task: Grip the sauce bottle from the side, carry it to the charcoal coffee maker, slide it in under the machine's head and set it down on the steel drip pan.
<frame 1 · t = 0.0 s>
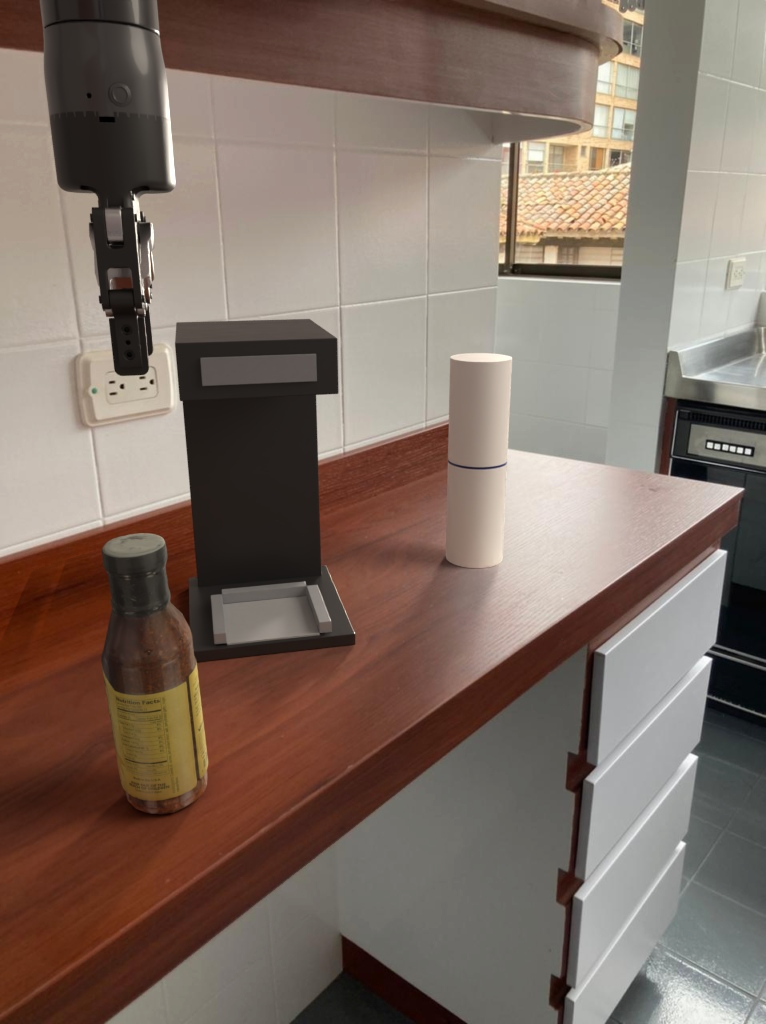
hand: (136, 364, 58), 30 cm above the counter, tool pointing down, fingers open, 8 cm apart
coffee maker: (266, 613, 88), on the counter
cylindrical container: (473, 558, 103), on the counter
sauce bottle: (165, 794, 60), on the counter
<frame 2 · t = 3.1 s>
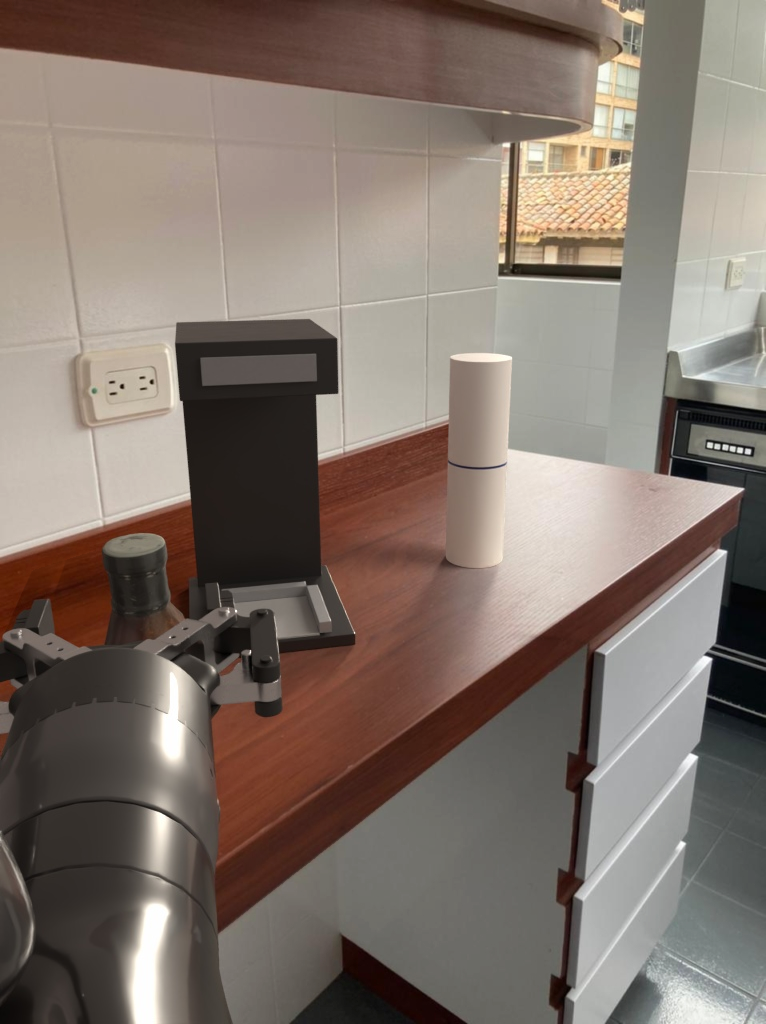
hand: (130, 607, 43), 20 cm above the counter, tool horizontal, fingers open, 8 cm apart
nothing on the counter moved.
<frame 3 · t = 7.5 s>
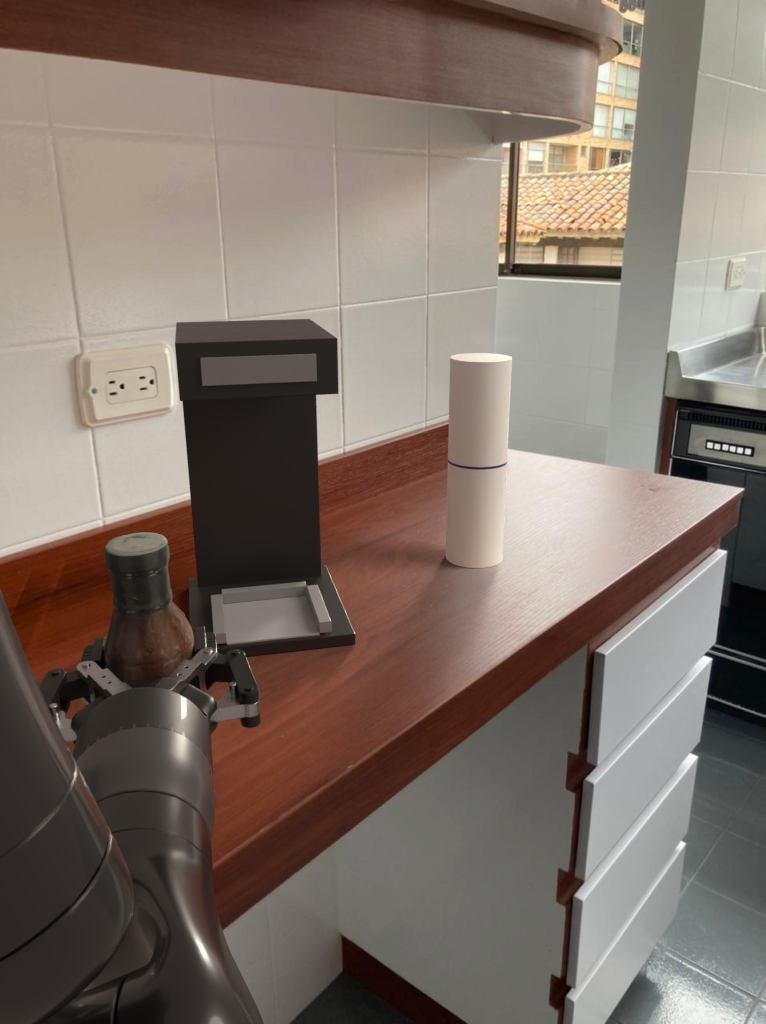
hand: (151, 643, 58), 11 cm above the counter, tool horizontal, fingers closed on sauce bottle, 6 cm apart
sauce bottle: (165, 794, 60), on the counter, touching gripper
everything else where it was.
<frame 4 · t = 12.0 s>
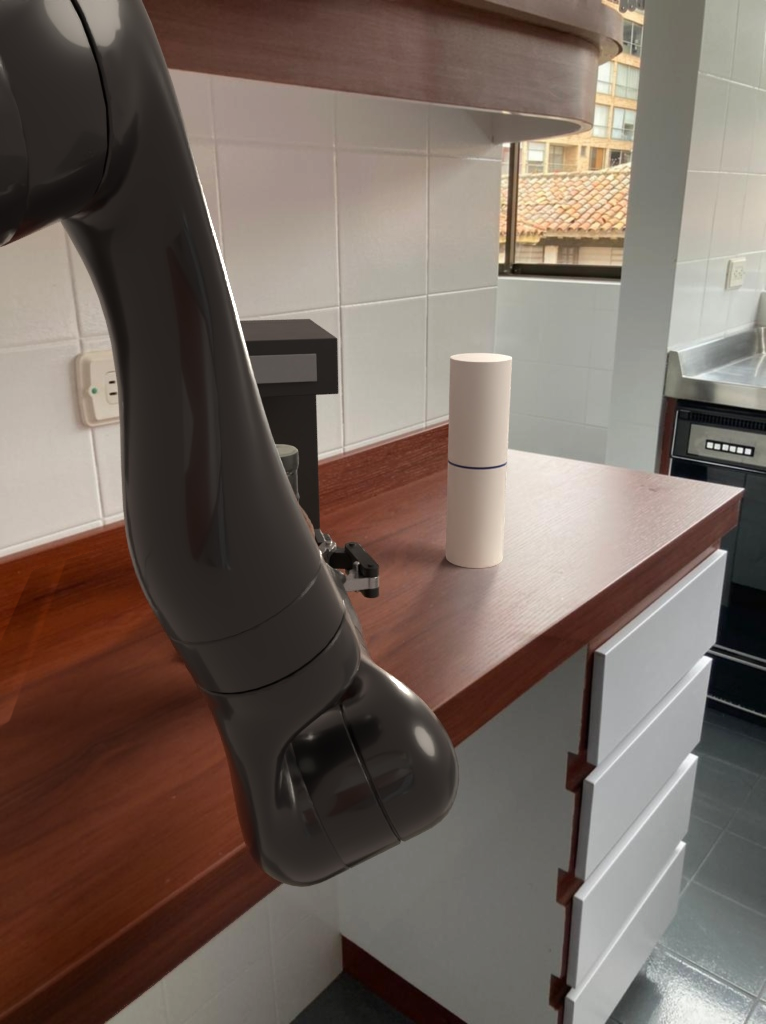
hand: (275, 543, 69), 14 cm above the counter, tool horizontal, fingers closed on sauce bottle, 6 cm apart
sauce bottle: (284, 673, 71), point 3 cm above the counter, touching gripper
everything else where it was.
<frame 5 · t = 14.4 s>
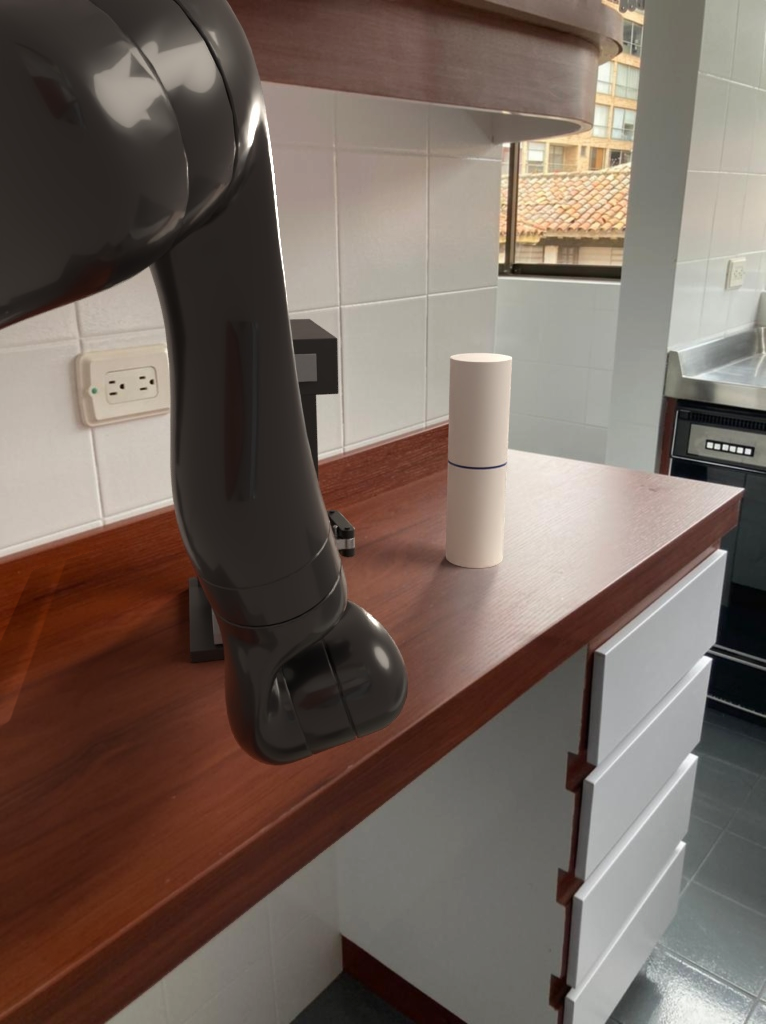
hand: (265, 512, 78), 13 cm above the counter, tool horizontal, fingers closed on sauce bottle, 6 cm apart
sauce bottle: (273, 628, 80), point 2 cm above the counter, touching gripper
everything else where it was.
when the fingers open (12 cm above the counter, at t = 16.3 s): sauce bottle stays where it is, resting on coffee maker.
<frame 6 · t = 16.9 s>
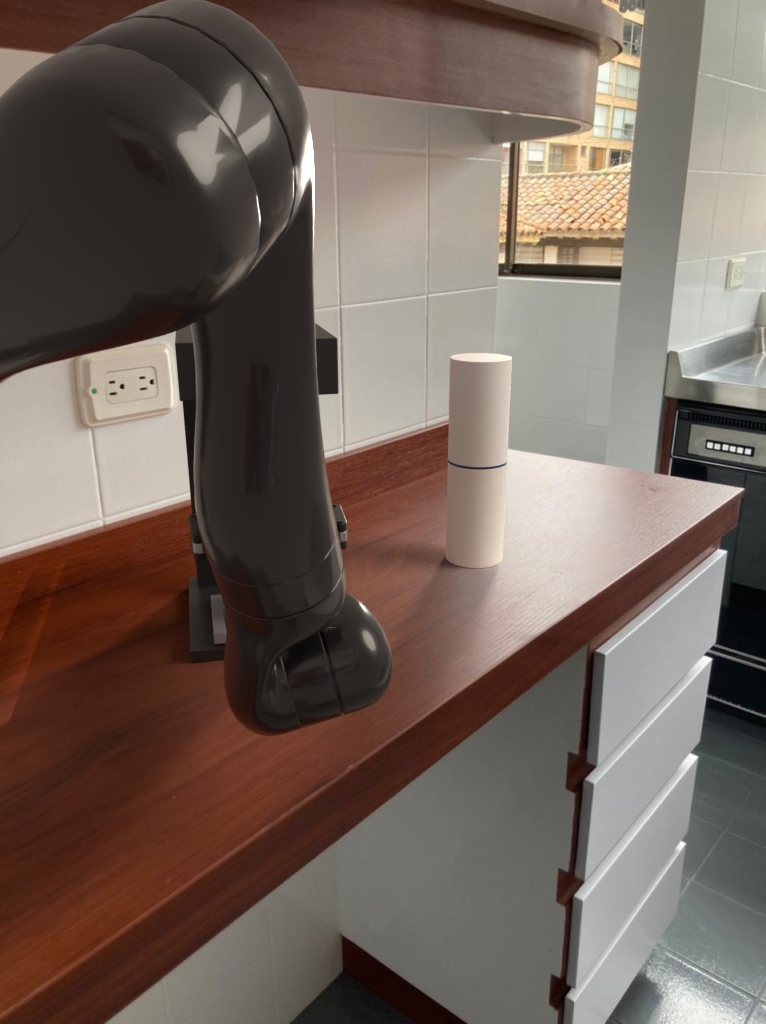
hand: (261, 506, 82), 13 cm above the counter, tool horizontal, fingers open, 8 cm apart
sauce bottle: (270, 620, 84), point 1 cm above the counter, touching coffee maker
everything else where it was.
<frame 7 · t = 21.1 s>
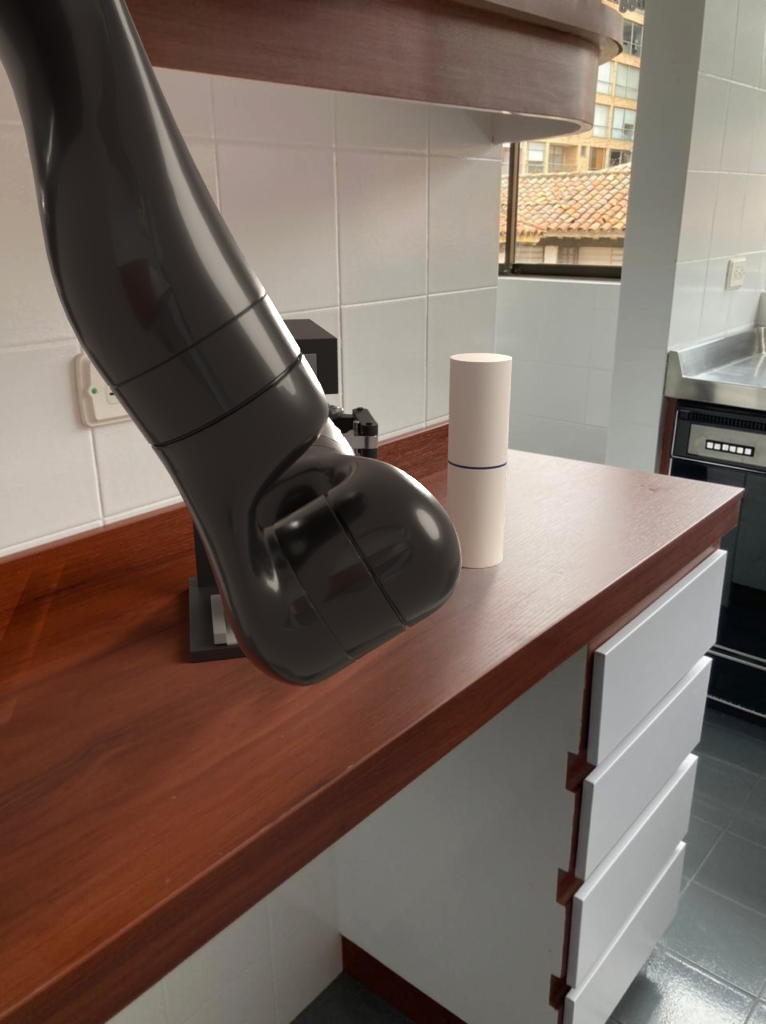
hand: (268, 414, 66), 25 cm above the counter, tool horizontal, fingers open, 8 cm apart
nothing on the counter moved.
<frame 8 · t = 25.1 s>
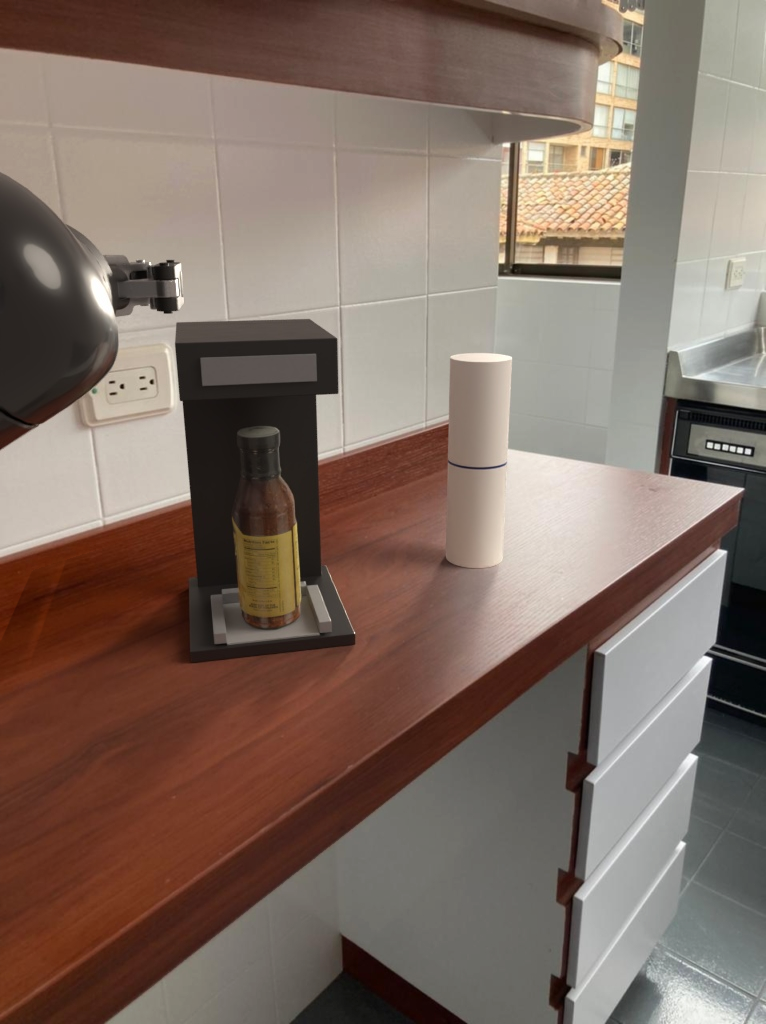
hand: (69, 280, 53), 36 cm above the counter, tool horizontal, fingers open, 8 cm apart
nothing on the counter moved.
at the end: sauce bottle 0.2 cm from the target spot on the coffee maker, point 1.2 cm above the coffee maker's base; sauce bottle tilted 0°; the gripper is holding nothing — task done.
